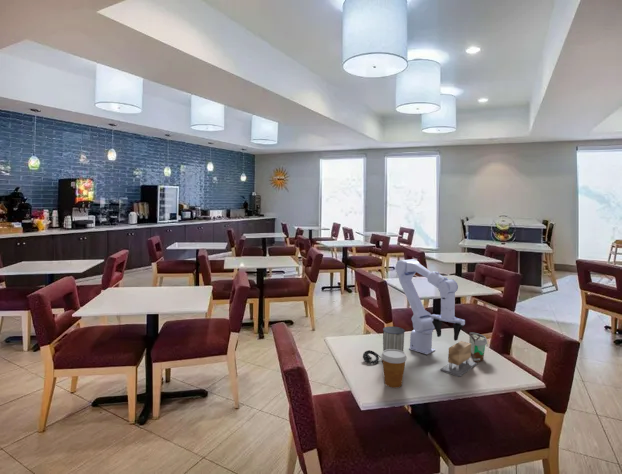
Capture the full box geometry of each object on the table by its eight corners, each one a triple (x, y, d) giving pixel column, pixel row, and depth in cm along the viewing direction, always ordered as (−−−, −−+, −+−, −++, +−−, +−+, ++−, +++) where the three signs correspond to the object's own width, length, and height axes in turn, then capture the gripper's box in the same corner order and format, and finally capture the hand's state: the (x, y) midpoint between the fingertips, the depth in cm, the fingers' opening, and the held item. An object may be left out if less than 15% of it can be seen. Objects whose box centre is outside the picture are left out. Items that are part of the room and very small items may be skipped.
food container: (489, 364, 166) (490, 342, 165) (474, 363, 167) (475, 340, 166) (482, 354, 178) (483, 332, 177) (468, 352, 179) (469, 331, 178)
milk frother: (408, 365, 164) (409, 331, 163) (378, 372, 157) (379, 336, 156) (387, 353, 177) (388, 322, 176) (358, 359, 170) (359, 326, 168)
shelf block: (448, 362, 160) (448, 348, 159) (460, 354, 168) (461, 341, 168) (458, 365, 157) (459, 350, 156) (470, 357, 165) (471, 343, 165)
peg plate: (440, 370, 159) (440, 362, 159) (458, 359, 171) (458, 352, 171) (459, 376, 154) (459, 368, 153) (476, 364, 166) (476, 357, 165)
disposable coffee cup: (377, 378, 151) (378, 348, 150) (401, 378, 152) (402, 348, 151) (384, 390, 142) (385, 358, 141) (409, 389, 142) (410, 358, 141)
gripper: (427, 306, 171) (427, 336, 172) (460, 311, 161) (459, 344, 161) (435, 303, 176) (435, 333, 177) (467, 308, 166) (466, 340, 166)
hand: (447, 338), depth 169 cm, fingers open, 7 cm apart
